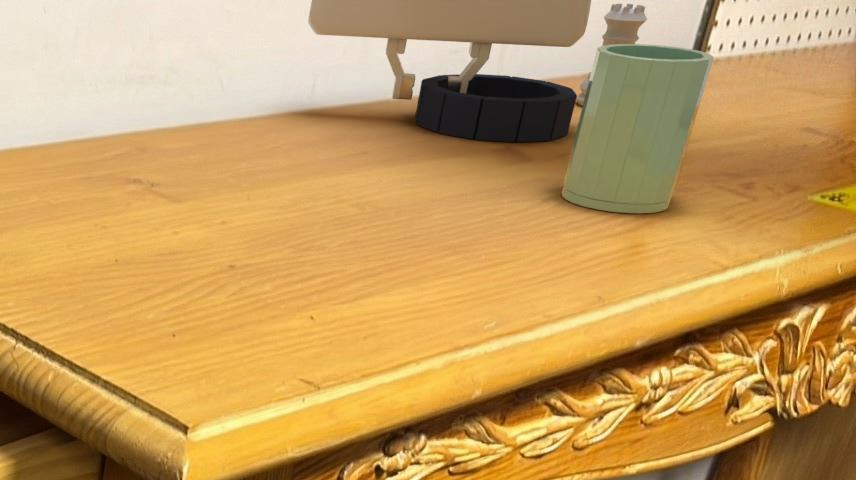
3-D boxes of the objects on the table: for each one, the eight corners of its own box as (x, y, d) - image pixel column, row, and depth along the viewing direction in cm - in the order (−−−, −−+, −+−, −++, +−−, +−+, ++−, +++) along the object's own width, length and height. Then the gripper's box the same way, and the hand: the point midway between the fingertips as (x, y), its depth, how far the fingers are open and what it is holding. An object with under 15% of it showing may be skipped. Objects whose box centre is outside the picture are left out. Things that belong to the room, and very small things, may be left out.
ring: (556, 117, 100) (565, 78, 99) (574, 146, 91) (585, 105, 89) (413, 107, 103) (420, 70, 101) (417, 135, 94) (424, 95, 92)
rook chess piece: (621, 113, 102) (649, 10, 98) (566, 105, 104) (591, 5, 100) (638, 105, 105) (665, 5, 101) (584, 98, 107) (609, 0, 103)
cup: (657, 192, 80) (700, 47, 75) (677, 217, 74) (724, 63, 70) (555, 184, 81) (591, 41, 77) (567, 208, 76) (606, 57, 72)
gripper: (318, -94, 90) (291, 98, 97) (618, -87, 85) (568, 116, 92) (321, -98, 96) (296, 84, 103) (604, -92, 91) (558, 100, 97)
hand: (427, 100), depth 97 cm, fingers open, 3 cm apart
